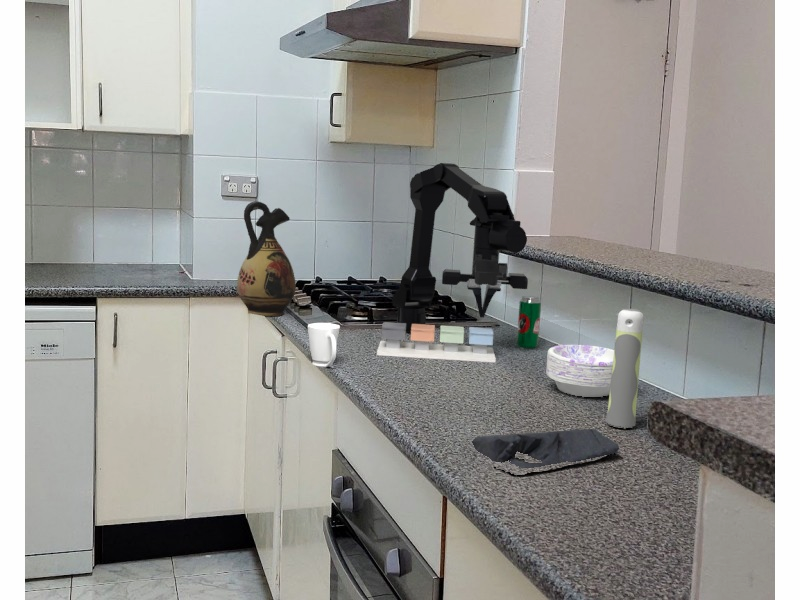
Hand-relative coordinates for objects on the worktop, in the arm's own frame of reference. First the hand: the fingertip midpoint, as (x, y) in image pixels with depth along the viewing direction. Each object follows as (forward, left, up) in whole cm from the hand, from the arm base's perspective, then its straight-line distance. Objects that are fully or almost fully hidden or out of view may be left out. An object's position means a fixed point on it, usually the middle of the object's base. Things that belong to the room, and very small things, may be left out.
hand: (481, 317), depth 196 cm
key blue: (0, 0, -6) cm, 6 cm away
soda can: (+3, +18, -9) cm, 20 cm away
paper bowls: (+31, -12, -9) cm, 34 cm away
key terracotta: (-11, -7, -6) cm, 14 cm away
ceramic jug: (-67, 0, -9) cm, 68 cm away
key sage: (-5, -4, -6) cm, 9 cm away
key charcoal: (-16, -11, -6) cm, 20 cm away
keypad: (-8, -5, -9) cm, 13 cm away
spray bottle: (+45, -29, -9) cm, 54 cm away
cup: (-17, -33, -9) cm, 39 cm away
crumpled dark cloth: (+42, -52, -10) cm, 67 cm away
